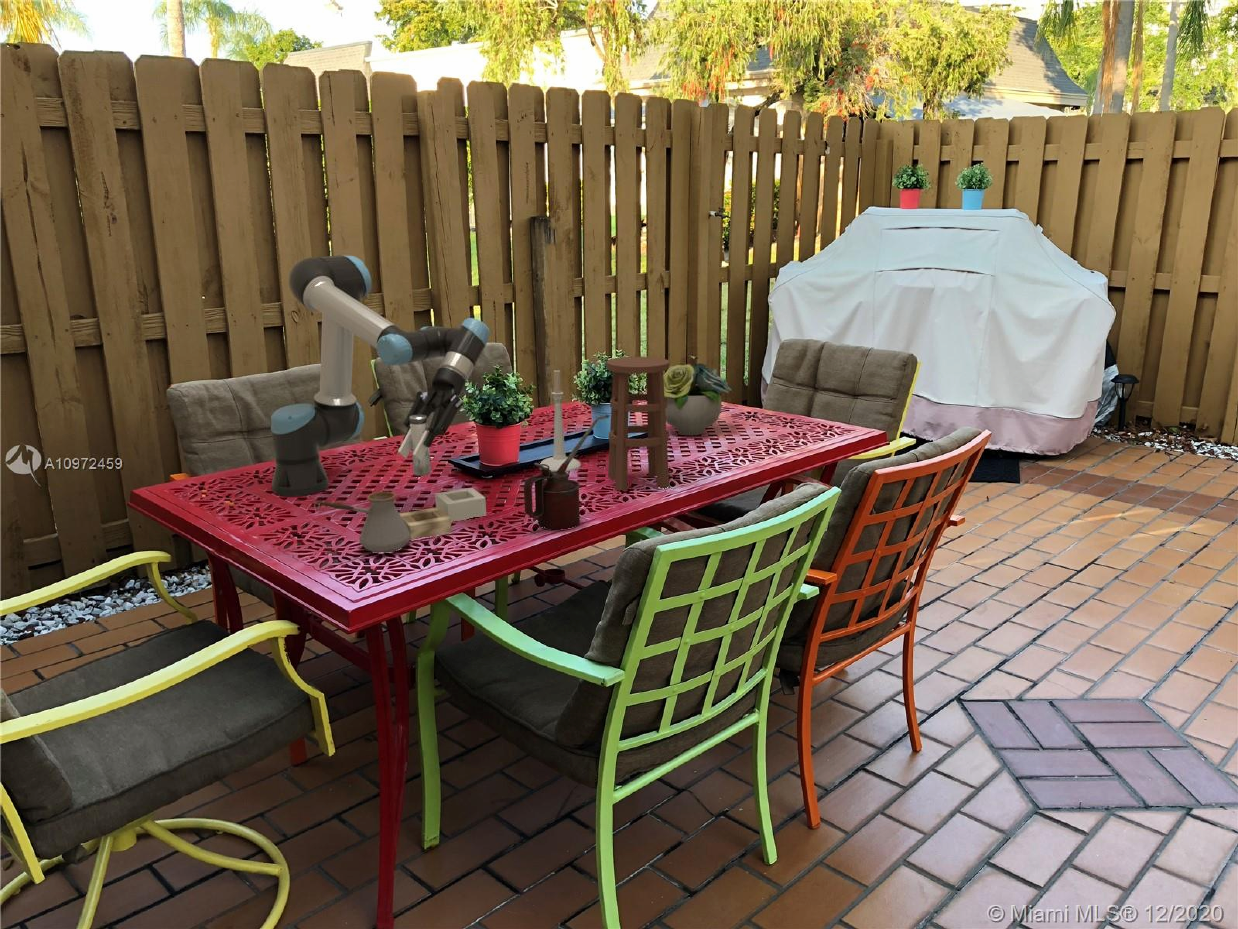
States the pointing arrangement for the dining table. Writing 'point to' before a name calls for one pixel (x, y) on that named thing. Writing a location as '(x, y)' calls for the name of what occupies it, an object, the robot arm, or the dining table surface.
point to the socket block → (426, 523)
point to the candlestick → (559, 433)
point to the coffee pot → (379, 523)
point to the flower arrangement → (693, 397)
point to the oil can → (555, 494)
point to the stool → (653, 408)
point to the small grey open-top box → (461, 504)
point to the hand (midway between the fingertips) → (409, 455)
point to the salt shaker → (417, 430)
